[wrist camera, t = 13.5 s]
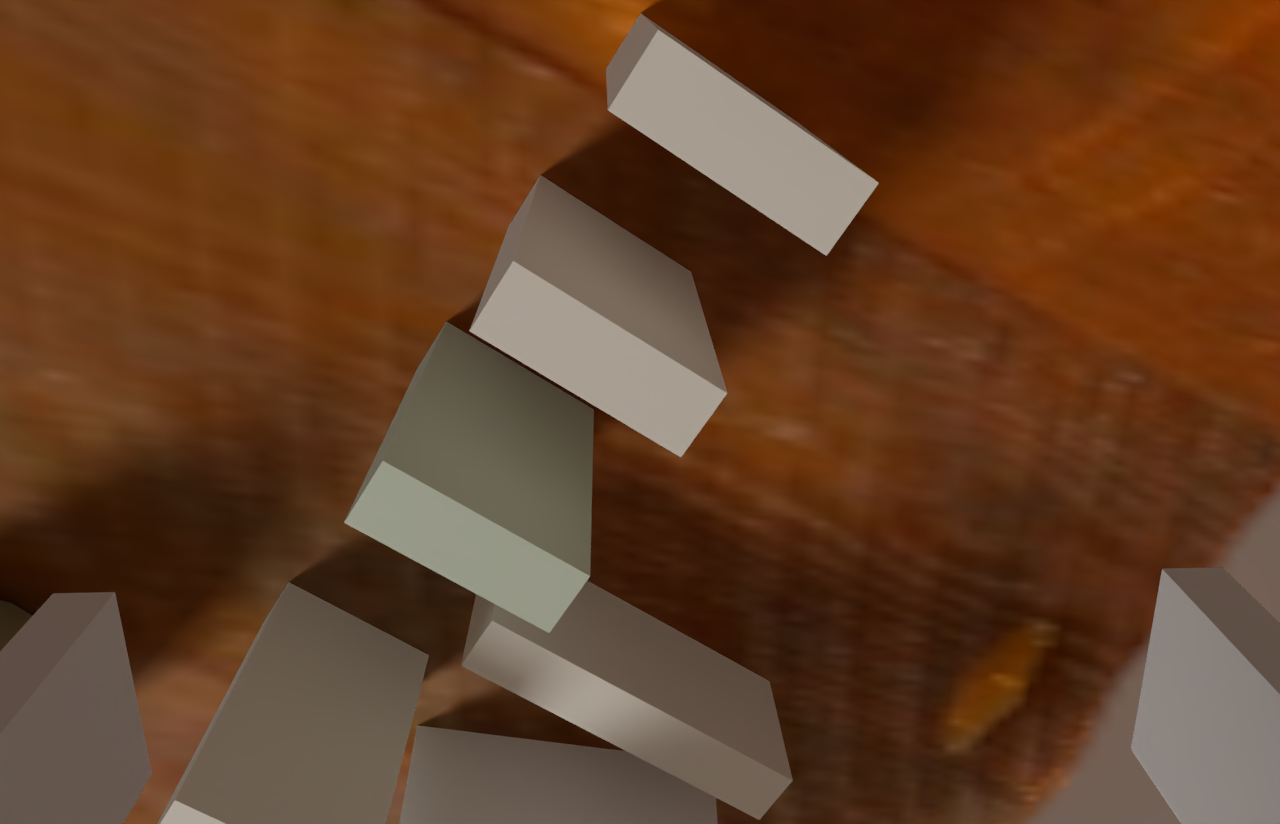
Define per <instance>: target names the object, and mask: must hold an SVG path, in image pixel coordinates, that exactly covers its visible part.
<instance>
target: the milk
mask: <svg viewBox="0 0 1280 824" xmlns="http://www.w3.org/2000/svg"><path fill="white" fill-rule="evenodd" d="M399 824H718V822H717V806H716V797H714V796H712V795H710V794H708V793H706V792H704V791H702V790H700V789H698V788H696V787H694V786H692V785H691V784H689V783H687V782H685V781H683V780H681V779H679V778H677V777H675V776H673V775H671V774H669V773H667V772H665V771H664V770H662V769H660V768H658V767H656V766H654V765H652V764H650V763H648V762H646V761H644V760H642V759H640V758H638V757H637V756H635V755H633V754H631V753H629V752H627V751H620V750H612V749H604V748H596V747H588V746H580V745H572V744H564V743H555V742H547V741H539V740H531V739H523V738H515V737H507V736H499V735H491V734H483V733H475V732H467V731H459V730H450V729H442V728H434V727H426V726H418V725H417V729H416V734H415V740H414V745H413V751H412V757H411V762H410V768H409V773H408V779H407V784H406V790H405V795H404V801H403V806H402V812H401V817H400V823H399Z"/></svg>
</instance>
